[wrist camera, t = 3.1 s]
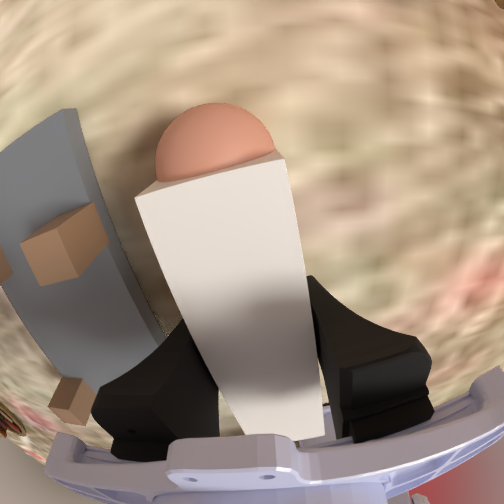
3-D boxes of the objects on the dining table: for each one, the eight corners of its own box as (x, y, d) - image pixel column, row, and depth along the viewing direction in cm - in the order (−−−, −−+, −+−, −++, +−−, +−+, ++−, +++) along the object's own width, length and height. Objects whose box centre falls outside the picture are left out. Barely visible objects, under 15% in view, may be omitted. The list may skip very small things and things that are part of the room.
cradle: (214, 413, 20) (211, 459, 16) (108, 413, 21) (97, 450, 17) (79, 106, 10) (20, 111, 6) (-28, 182, 11) (-71, 205, 7)
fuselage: (311, 370, 17) (324, 435, 13) (251, 381, 18) (252, 446, 13) (258, 96, 10) (266, 80, 6) (164, 121, 11) (112, 127, 6)
